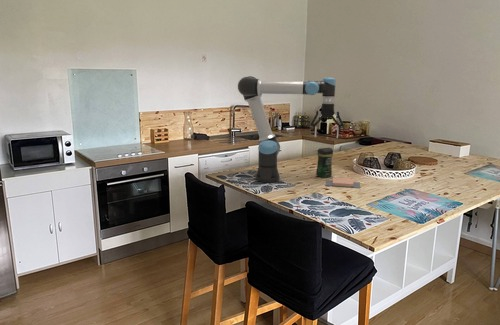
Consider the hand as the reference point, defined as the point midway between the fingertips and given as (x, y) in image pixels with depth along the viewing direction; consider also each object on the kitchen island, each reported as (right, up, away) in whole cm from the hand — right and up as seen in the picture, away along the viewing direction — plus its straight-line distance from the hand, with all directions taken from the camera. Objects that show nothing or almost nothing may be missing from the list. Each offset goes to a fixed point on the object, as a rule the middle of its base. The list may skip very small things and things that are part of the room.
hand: (326, 137), depth 239 cm
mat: (+8, -29, -11) cm, 32 cm away
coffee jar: (0, -25, +6) cm, 26 cm away
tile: (+9, -26, -5) cm, 28 cm away
